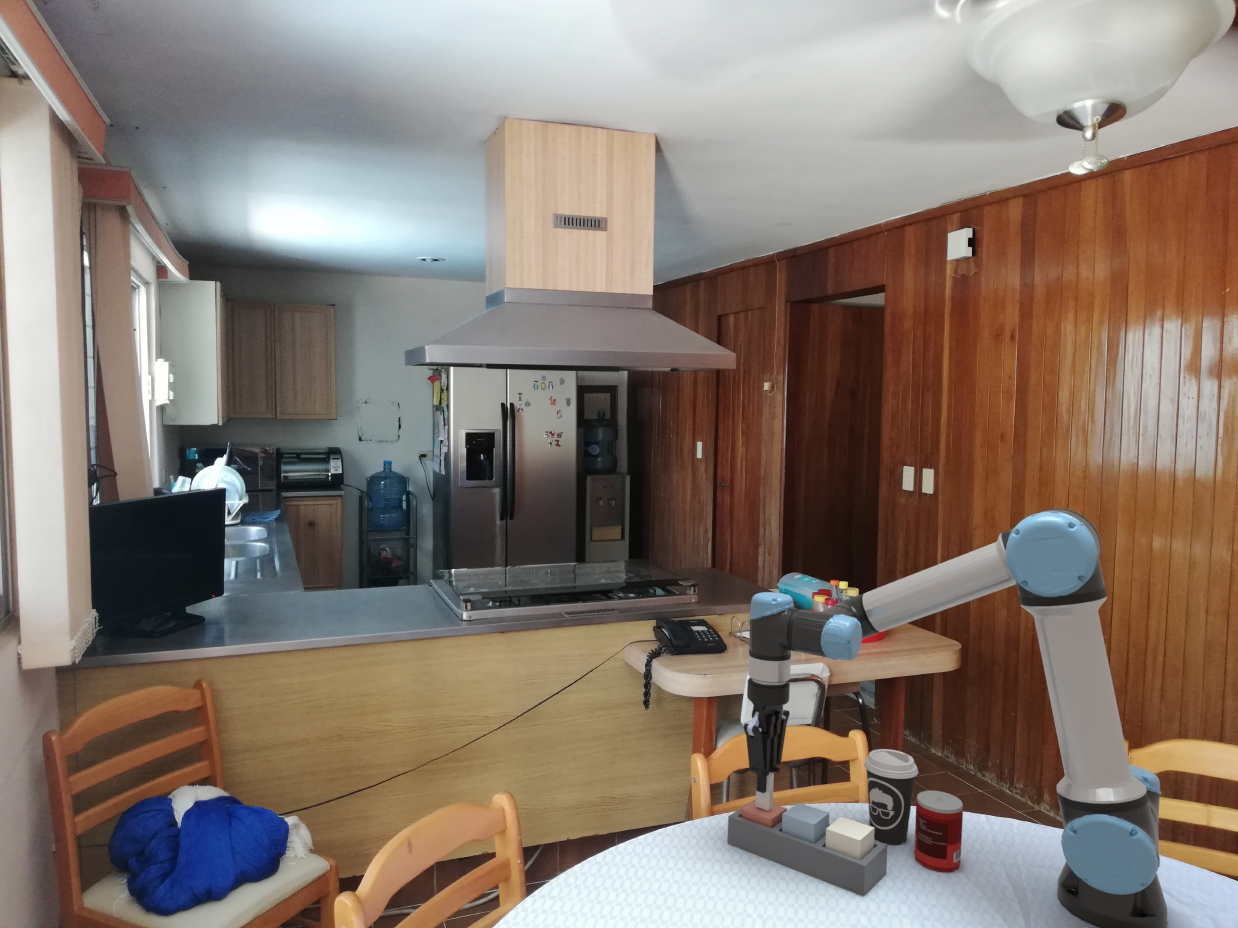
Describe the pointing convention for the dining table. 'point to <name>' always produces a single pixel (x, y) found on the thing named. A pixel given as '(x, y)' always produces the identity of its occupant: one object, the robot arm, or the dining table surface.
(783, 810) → the key brick
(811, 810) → the key blue
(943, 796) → the canned food
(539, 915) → the dining table surface
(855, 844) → the key ivory
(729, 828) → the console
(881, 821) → the coffee cup
